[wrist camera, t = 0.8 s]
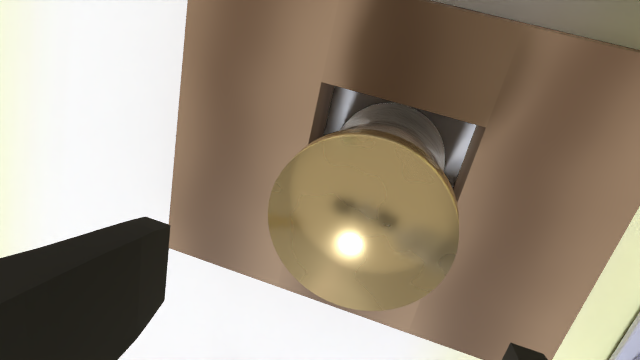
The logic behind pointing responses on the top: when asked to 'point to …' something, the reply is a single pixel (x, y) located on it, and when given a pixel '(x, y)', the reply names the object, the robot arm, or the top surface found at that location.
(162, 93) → the top surface
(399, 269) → the gold rounded piece
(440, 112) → the housing
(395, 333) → the top surface
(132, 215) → the top surface
